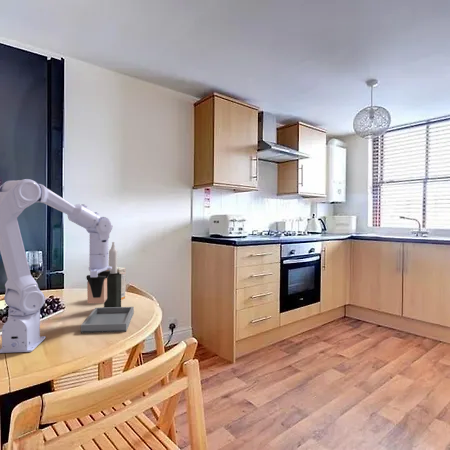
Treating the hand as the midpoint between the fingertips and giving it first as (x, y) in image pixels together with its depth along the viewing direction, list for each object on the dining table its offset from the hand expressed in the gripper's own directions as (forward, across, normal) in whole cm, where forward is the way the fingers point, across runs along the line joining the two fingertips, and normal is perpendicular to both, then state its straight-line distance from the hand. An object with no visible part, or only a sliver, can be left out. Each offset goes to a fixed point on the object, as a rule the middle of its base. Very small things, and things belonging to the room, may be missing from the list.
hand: (98, 295), depth 105 cm
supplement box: (+9, +30, 0) cm, 31 cm away
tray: (+9, 0, -4) cm, 10 cm away
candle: (+9, +16, -2) cm, 18 cm away
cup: (+2, 0, 0) cm, 2 cm away
